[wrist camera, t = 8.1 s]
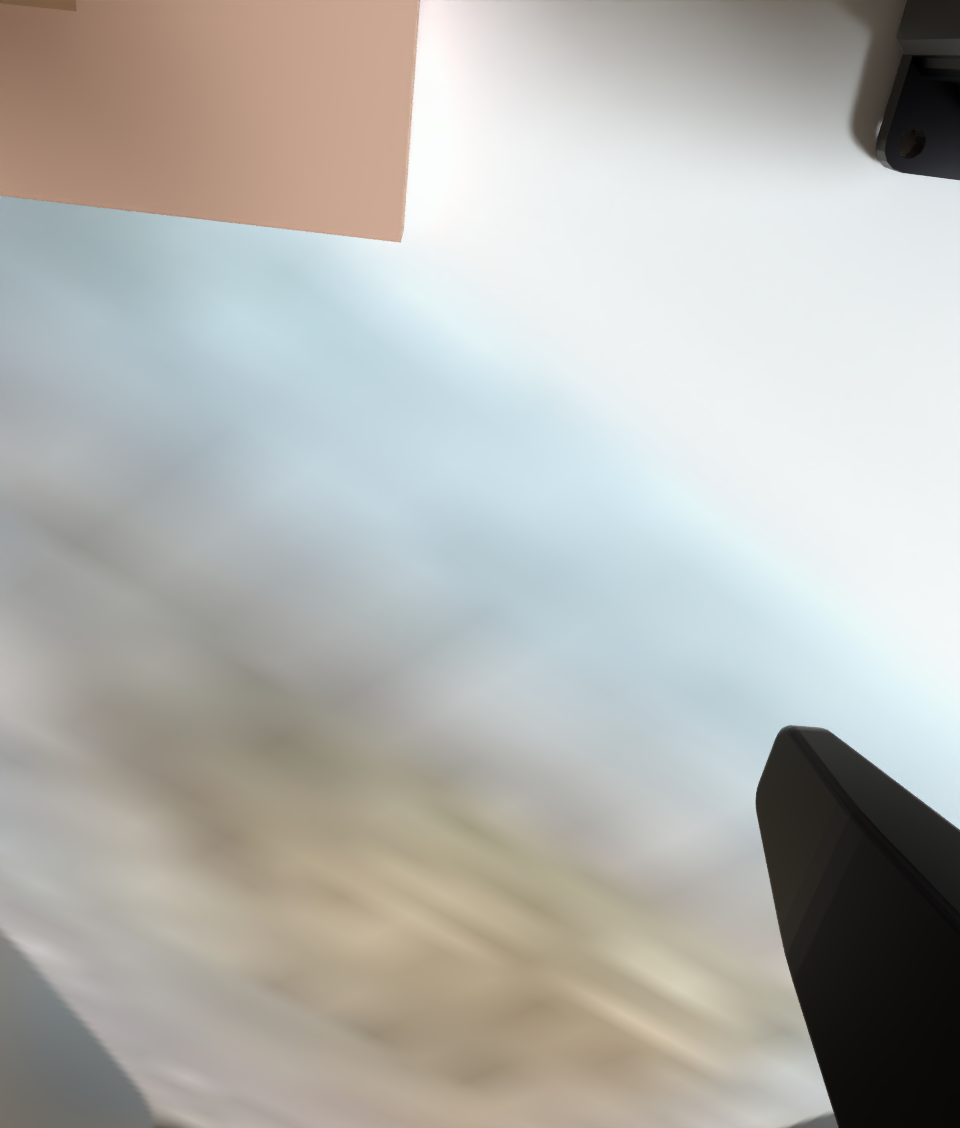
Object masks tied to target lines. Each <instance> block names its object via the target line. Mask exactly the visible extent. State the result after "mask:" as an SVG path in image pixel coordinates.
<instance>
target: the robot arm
mask: <svg viewBox="0 0 960 1128" xmlns="http://www.w3.org/2000/svg"><path fill="white" fill-rule="evenodd" d="M897 41H898V43H899V46H900V48H901V51H902V53H903V55H902V59H901V62H900V65H899V69H898V72H897V75H896V78H895V82H894V85H893V88H892V91H891V95H890V98H889V101H888V104H887V108H886V111H885V114H884V118H883V121H882V124H881V127H880V131H879V134H878V137H877V143H876V153H877V157H878V160H879V161H880V162H881V164H882V165H883V166H884V167H886V168H889V169H891V170H894V171H898V172H901V173H908V174H916V175H924V176H931V177H939V178H947V179H955V180H960V0H907V3H906V7H905V10H904V13H903V17H902V20H901V23H900V27H899V30H898V33H897ZM909 129H913V130H914V132H915V134H916V142H915V145H914V147H913V149H912V150H911V151H910V152H909V153H908V154H906V155H905V156H901V155H900V153H899V151H898V142H899V140H900V138H901V137H902V135H903V134H904V133H905V132H907V131H908V130H909ZM756 812H757V817H758V823H759V828H760V833H761V838H762V843H763V848H764V853H765V858H766V863H767V868H768V873H769V878H770V884H771V889H772V894H773V899H774V904H775V909H776V914H777V919H778V924H779V929H780V934H781V938H782V943H783V947H784V952H785V956H786V960H787V963H788V967H789V970H790V974H791V977H792V981H793V984H794V987H795V990H796V993H797V997H798V1000H799V1003H800V1006H801V1009H802V1013H803V1016H804V1019H805V1022H806V1025H807V1029H808V1032H809V1035H810V1038H811V1041H812V1045H813V1048H814V1051H815V1054H816V1057H817V1061H818V1064H819V1067H820V1070H821V1073H822V1077H823V1080H824V1083H825V1086H826V1089H827V1093H828V1096H829V1099H830V1102H831V1105H832V1109H833V1112H834V1115H835V1118H836V1121H837V1125H838V1128H960V830H959V829H958V828H957V827H955V826H954V825H953V824H951V823H950V822H949V821H947V820H946V819H945V818H943V817H942V816H941V815H940V814H938V813H937V812H936V811H934V810H933V809H932V808H930V807H929V806H928V805H926V804H925V803H924V802H922V801H921V800H920V799H918V798H917V797H916V796H914V795H913V794H912V793H911V792H909V791H908V790H907V789H905V788H904V787H903V786H901V785H900V784H899V783H897V782H896V781H895V780H893V779H892V778H891V777H889V776H888V775H887V774H886V773H884V772H883V771H882V770H880V769H879V768H878V767H876V766H875V765H874V764H872V763H871V762H870V761H868V760H867V759H866V758H864V757H863V756H862V755H860V754H859V753H858V752H857V751H855V750H854V749H853V748H851V747H850V746H849V745H847V744H846V743H845V742H843V741H842V740H841V739H839V738H838V737H837V736H835V735H834V734H833V733H831V732H830V731H828V730H826V729H824V728H819V727H806V726H794V725H789V726H786V727H784V728H782V729H781V730H780V732H779V733H778V735H777V737H776V739H775V741H774V744H773V747H772V749H771V752H770V754H769V757H768V760H767V762H766V765H765V768H764V770H763V773H762V776H761V778H760V781H759V784H758V787H757V792H756Z"/></svg>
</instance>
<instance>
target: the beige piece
mask: <svg viewBox="0 0 960 1128" xmlns="http://www.w3.org/2000/svg"><path fill="white" fill-rule="evenodd" d="M419 8H420V0H0V196H8V197H17V198H25V199H34V200H42V201H51V202H59V203H68V204H77V205H85V206H94V207H102V208H111V209H119V210H128V211H136V212H145V213H153V214H162V215H171V216H179V217H188V218H196V219H205V220H213V221H222V222H230V223H239V224H247V225H256V226H265V227H273V228H282V229H290V230H299V231H307V232H316V233H324V234H333V235H342V236H350V237H359V238H367V239H376V240H384V241H393V242H401V239H402V235H403V231H404V217H405V203H406V189H407V175H408V161H409V147H410V133H411V120H412V106H413V92H414V78H415V64H416V50H417V36H418V22H419Z"/></svg>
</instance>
